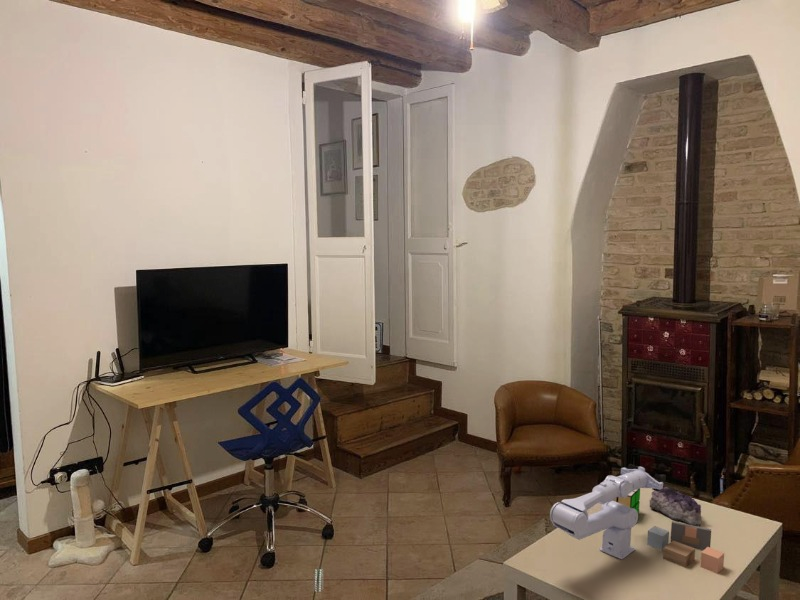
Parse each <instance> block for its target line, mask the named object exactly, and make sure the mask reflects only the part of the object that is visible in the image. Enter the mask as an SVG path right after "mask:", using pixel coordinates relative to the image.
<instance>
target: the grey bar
mask: <svg viewBox="0 0 800 600" xmlns="http://www.w3.org/2000/svg"><path fill="white" fill-rule="evenodd" d="M670 526H671V528H670V541H669V543H671V542H672V541H673V540H674V541H676V542H679V543H682V544H684V545H687V546H690V547H692V548H695V549H700V550H704V549H706V548H707V547H710V548H711V539H712V529H711V528H707V527H702V526H693V525H688V524H687V523H683V522H682V523H681V522H680V521H679V522H677V521H674V520H672V521H671V525H670Z"/></svg>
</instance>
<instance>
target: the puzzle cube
mask: <svg viewBox="0 0 800 600" xmlns="http://www.w3.org/2000/svg"><path fill="white" fill-rule="evenodd" d="M640 499H641V488H640V489H637V490H634V491H632V492H631V493H629V494H628V496H627V497H626V498H625V499H624V498H620V497H617V498H615V499H613V501H615V502H618V503H620V504H622V505H625V506H627V507H630V508H633V509H636V510H637V513H638V514H639V513H640V502H641V501H640Z"/></svg>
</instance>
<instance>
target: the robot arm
mask: <svg viewBox="0 0 800 600" xmlns="http://www.w3.org/2000/svg"><path fill="white" fill-rule="evenodd" d="M646 468H647V467H645V466H638V465H637V466H636V465H635V464H632V463H629V464H628V465H627V467H621V468H620V475H618V476H616V475H615V476H614V475H611V474H609V475H607V476H606V477H605V479H604V480H603V481H602V482H600V483H599V484H597V485H595V486H594V487H593V488H592V491H591V492H589V493H585V494H583V495H581V496H578V497H575V498H566V499H562V500H561V501H560V502H559V501H558V502H556V503H554V504H553V505H552V507H551V508H550V512H549V519H550V521H551V523H552V525H553V526H554V527H556V528H557V529H560V530H561V531H562V532H564V533H565V534H567V535H568V536H571V537H572V538H575V539H577V540H579V541H581V540H582V539H585V538H587V537H590V536H592V535H594V534H597V533H599V532H602V531H603V532H602V541H601V542H602V545H601V546H600V547H599V551H601V552H604V553H606V554H607V555H610V556H612V557H615V558H618V559H619V560H623V559H625V558H626V557H628V555H630V554H632V553H633V552H634V551H635V550H636V547H634V546H632V545H631V540H632V528H634V527H635V526H636V524H637V523H638V520H639V513H637V510H636V509H633V508H630V507H627V506H625V505H622V504H620V503H618V502H615V501H613V499H615V498H617V497H620V498H624V499H625V498H626V497H627V496H628V494H629V493H631V492H632V491H634V490H637V489H640V490H641V489H651V490H652V491H660V489H663V488H664V482H666V479H667V475H666V474H657V473H654V477H652V476H651V475H650V473H648V472H646ZM598 504H600V505H601V506H600V510H599V511H596V512H594V513H591V514H589V512H588V510H590V509H592V508H594V506H596V505H598Z"/></svg>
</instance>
